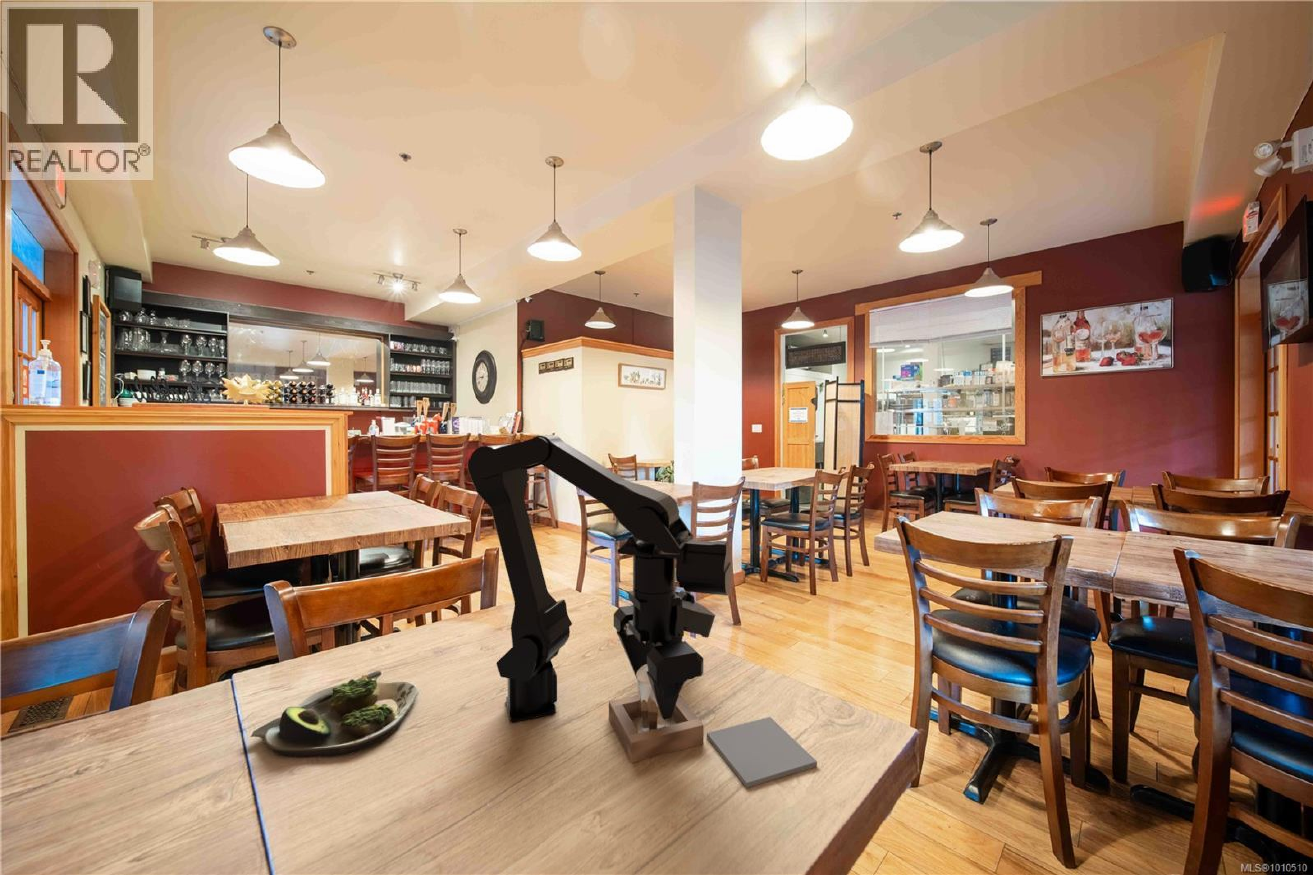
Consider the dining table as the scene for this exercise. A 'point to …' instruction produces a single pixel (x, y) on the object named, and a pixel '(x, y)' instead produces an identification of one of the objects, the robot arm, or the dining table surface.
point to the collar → (656, 740)
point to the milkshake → (648, 703)
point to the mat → (760, 751)
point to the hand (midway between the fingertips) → (653, 700)
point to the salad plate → (339, 719)
